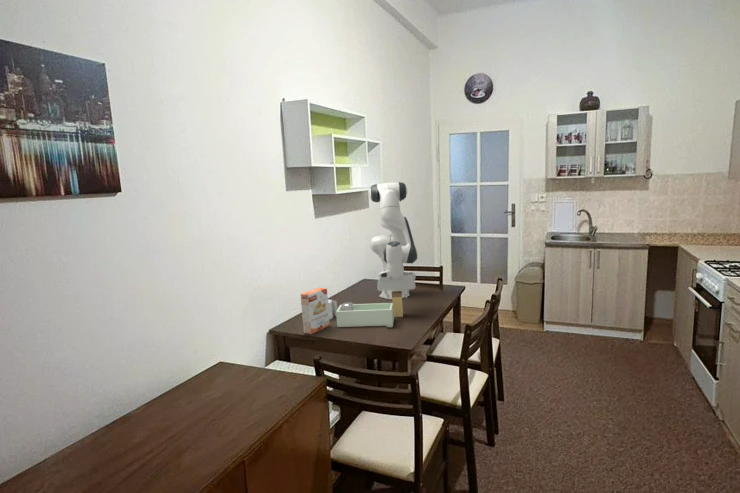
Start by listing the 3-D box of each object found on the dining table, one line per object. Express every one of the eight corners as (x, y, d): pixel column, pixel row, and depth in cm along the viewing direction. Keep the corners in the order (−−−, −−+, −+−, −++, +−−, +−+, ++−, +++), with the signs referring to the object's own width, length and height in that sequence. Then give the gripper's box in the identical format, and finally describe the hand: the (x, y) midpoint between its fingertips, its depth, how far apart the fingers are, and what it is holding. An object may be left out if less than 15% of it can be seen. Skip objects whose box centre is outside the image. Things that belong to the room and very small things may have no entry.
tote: (341, 321, 236) (340, 304, 234) (393, 319, 232) (392, 302, 231) (337, 328, 224) (336, 311, 222) (392, 327, 220) (391, 309, 219)
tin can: (344, 320, 232) (342, 302, 231) (355, 320, 231) (353, 302, 230) (342, 324, 226) (340, 306, 225) (353, 324, 226) (352, 305, 224)
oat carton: (393, 314, 241) (392, 291, 239) (403, 313, 240) (401, 290, 238) (393, 317, 236) (391, 293, 234) (402, 316, 235) (401, 293, 233)
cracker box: (312, 336, 216) (308, 294, 212) (303, 334, 219) (299, 293, 216) (330, 327, 227) (327, 287, 224) (321, 325, 230) (318, 286, 227)
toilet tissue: (311, 319, 243) (309, 301, 241) (331, 314, 248) (329, 297, 246) (317, 324, 233) (316, 305, 232) (338, 319, 239) (337, 301, 237)
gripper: (415, 270, 236) (416, 295, 238) (377, 272, 238) (378, 297, 240) (415, 272, 230) (416, 298, 231) (376, 274, 232) (377, 300, 234)
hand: (397, 297), depth 236 cm, fingers open, 8 cm apart
